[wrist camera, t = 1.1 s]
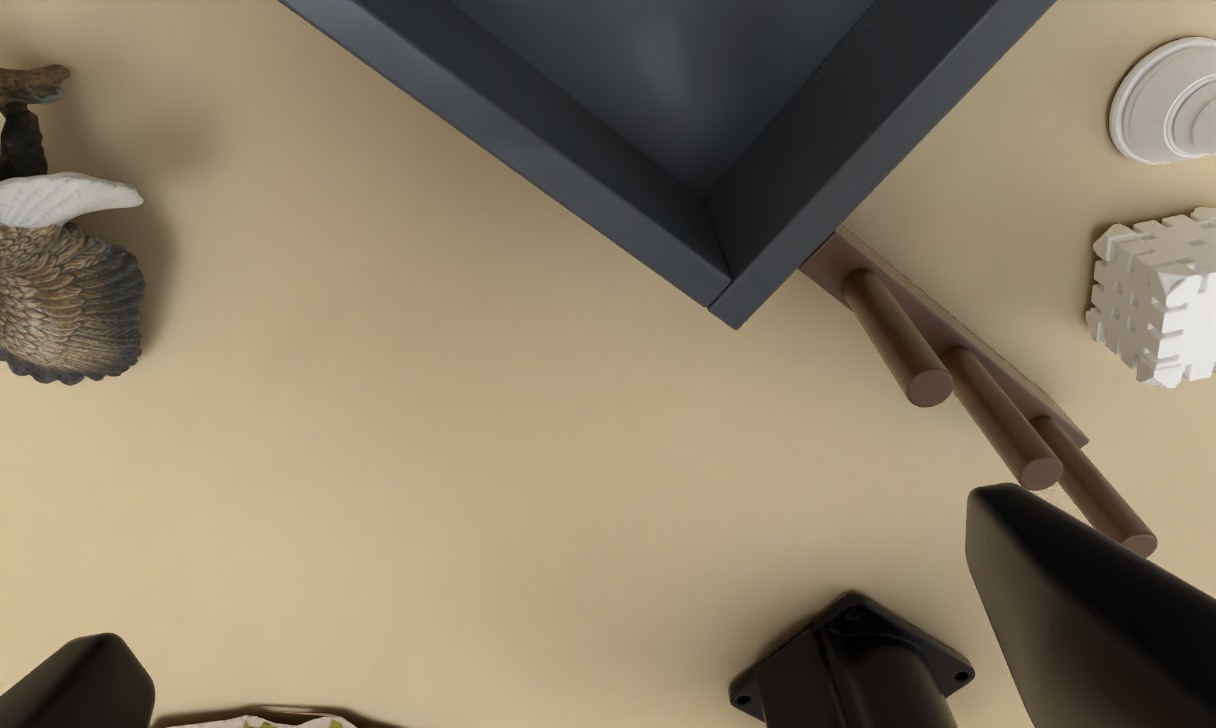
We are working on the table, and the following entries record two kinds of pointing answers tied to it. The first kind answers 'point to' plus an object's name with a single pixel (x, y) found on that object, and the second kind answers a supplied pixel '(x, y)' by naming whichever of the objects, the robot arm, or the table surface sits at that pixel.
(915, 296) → the drying rack
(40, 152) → the eagle figurine
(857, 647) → the robot arm
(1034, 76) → the table surface
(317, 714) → the bear figurine
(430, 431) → the table surface
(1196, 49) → the game pieces
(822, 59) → the open box
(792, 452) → the table surface
